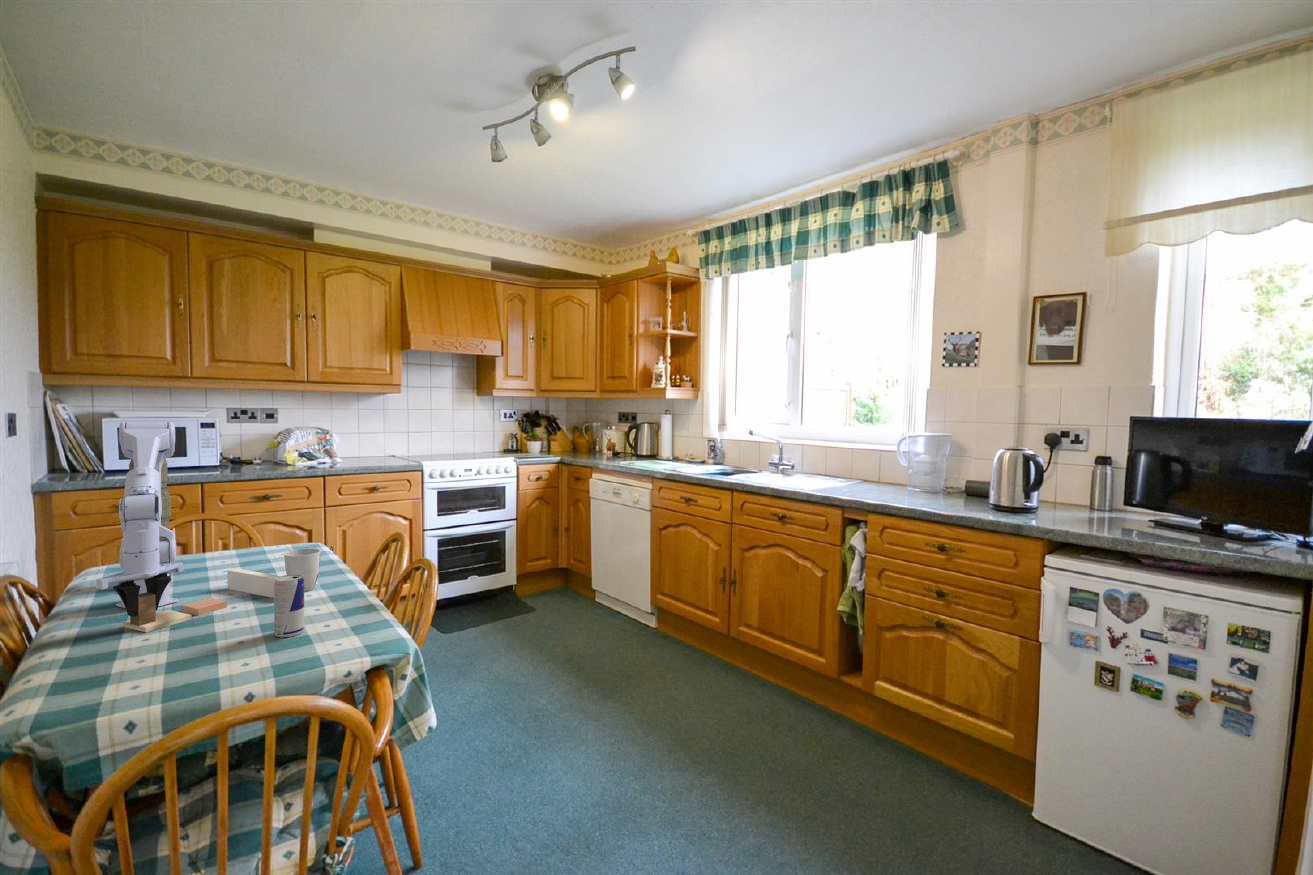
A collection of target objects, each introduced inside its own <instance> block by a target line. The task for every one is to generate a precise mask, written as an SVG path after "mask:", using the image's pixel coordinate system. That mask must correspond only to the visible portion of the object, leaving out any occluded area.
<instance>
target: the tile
mask: <svg viewBox="0 0 1313 875" xmlns="http://www.w3.org/2000/svg"><path fill="white" fill-rule="evenodd" d="M227 604H228V603H227V600H223V599H219V598H215V597H208V598H204V599H201V600H200V599H199V600H197V601H192V602H188V603H186V604H182V605H181V613H185V614H190V615H192V616H203V615H206V614H210V613H213V612H216V611H220V610H223V609H227V607H228V606H227Z"/></svg>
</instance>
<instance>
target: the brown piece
mask: <svg viewBox="0 0 1313 875" xmlns="http://www.w3.org/2000/svg"><path fill="white" fill-rule="evenodd" d="M192 617H193V614H188V613H184V612H182V611H181V612H180V611H177V610H172V609H167V610H164V611H163V610H162V611H159V612H157V610H156V603H155V594H153V593H148V592H146V593H142V594H139V595H138V614H137V616H134V617H132V616H129V620H126V621H122V623H123V628H126V629H131V630H135V631H139V632H143V633H149V632H153V631H157V630H160V629H163V628H166V627H170V626H173V625H177V624H180V623H184V622H188V621H191V620H193V618H192Z"/></svg>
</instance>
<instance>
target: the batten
mask: <svg viewBox="0 0 1313 875" xmlns="http://www.w3.org/2000/svg"><path fill="white" fill-rule="evenodd" d="M226 571H227V574H226V575H227V590H231V591H237V592H241V593H246V594H253V595H257V596H262V597H267V598H270V599H274V582H275V579H276V578H278V577H280V576H281V575H275V574H270V573H264V572H258V571H254V570H248V569H247V570H246V569H240V568H231V569H228V570H226Z"/></svg>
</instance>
